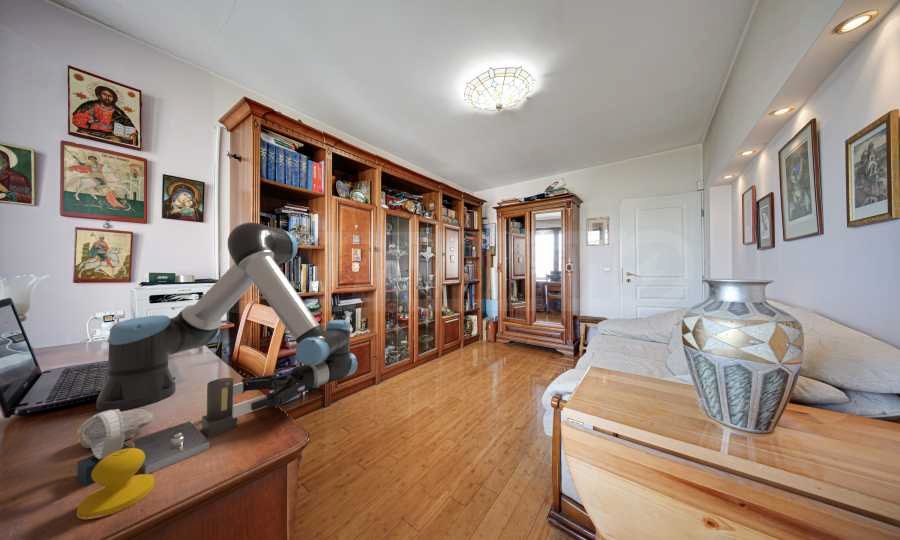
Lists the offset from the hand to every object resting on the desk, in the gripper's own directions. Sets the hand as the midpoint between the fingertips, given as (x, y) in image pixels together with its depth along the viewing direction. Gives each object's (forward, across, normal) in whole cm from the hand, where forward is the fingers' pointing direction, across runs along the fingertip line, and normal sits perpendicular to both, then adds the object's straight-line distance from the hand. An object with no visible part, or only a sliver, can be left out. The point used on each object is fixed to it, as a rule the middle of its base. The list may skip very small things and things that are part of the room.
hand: (221, 403), depth 65 cm
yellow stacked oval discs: (+17, -11, -6) cm, 21 cm away
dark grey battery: (0, 0, -6) cm, 6 cm away
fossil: (+14, +14, -6) cm, 21 cm away
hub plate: (+9, 0, -6) cm, 10 cm away
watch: (+17, 0, -6) cm, 18 cm away
